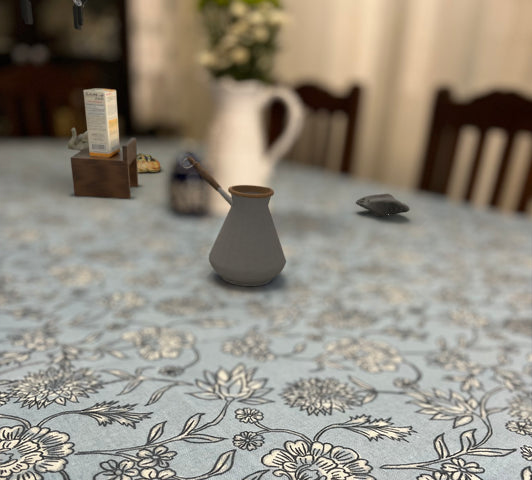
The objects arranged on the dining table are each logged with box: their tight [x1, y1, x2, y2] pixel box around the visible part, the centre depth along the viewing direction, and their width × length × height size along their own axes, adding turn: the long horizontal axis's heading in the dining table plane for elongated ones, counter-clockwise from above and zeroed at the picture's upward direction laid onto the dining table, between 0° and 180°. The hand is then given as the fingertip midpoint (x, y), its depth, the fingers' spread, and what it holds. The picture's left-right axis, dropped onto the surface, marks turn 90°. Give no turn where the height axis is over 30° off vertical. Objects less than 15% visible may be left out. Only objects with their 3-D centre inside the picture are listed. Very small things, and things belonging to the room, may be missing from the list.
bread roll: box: [137, 152, 162, 174], centre depth 145 cm, size 11×11×5 cm
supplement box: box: [82, 87, 121, 157], centre depth 114 cm, size 8×5×13 cm, turn 178°
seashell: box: [355, 193, 411, 218], centre depth 116 cm, size 12×6×10 cm
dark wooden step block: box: [70, 137, 139, 200], centre depth 118 cm, size 12×14×11 cm
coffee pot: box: [181, 155, 287, 287], centre depth 77 cm, size 21×12×15 cm, turn 42°
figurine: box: [67, 127, 89, 152], centre depth 129 cm, size 10×14×15 cm, turn 138°
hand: (53, 26), depth 106 cm, fingers open, 9 cm apart
